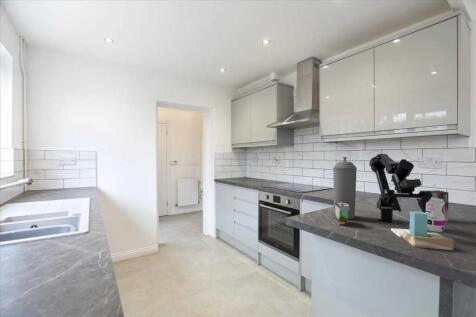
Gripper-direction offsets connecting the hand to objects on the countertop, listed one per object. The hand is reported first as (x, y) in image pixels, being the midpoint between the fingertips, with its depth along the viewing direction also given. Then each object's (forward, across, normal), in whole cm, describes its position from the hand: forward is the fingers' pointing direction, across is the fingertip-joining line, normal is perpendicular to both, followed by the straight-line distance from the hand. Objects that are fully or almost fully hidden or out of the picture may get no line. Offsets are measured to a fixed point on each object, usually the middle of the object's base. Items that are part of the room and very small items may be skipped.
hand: (412, 211), depth 100 cm
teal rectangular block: (+12, 0, +5) cm, 13 cm away
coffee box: (-17, +27, +33) cm, 46 cm away
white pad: (+4, 0, +12) cm, 13 cm away
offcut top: (+10, +6, +4) cm, 13 cm away
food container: (-4, -24, +21) cm, 32 cm away
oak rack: (+12, +3, +4) cm, 13 cm away
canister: (-13, -21, +29) cm, 39 cm away
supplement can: (-3, +16, +20) cm, 25 cm away
